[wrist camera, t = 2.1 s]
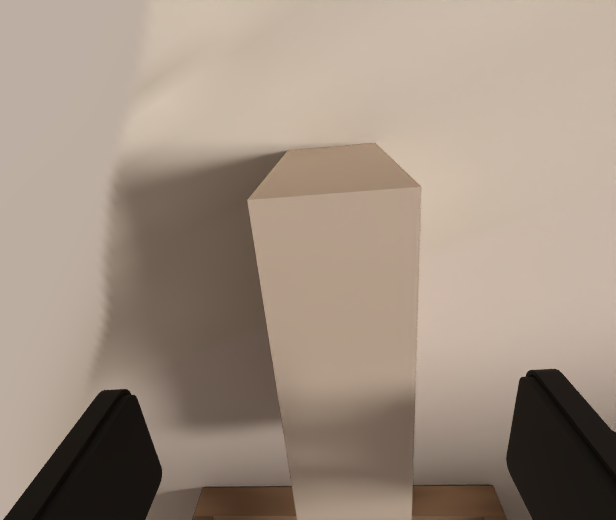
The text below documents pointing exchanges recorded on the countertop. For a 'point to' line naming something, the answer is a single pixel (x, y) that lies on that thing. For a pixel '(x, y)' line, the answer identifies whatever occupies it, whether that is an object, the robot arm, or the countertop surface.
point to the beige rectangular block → (342, 325)
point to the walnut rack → (282, 514)
